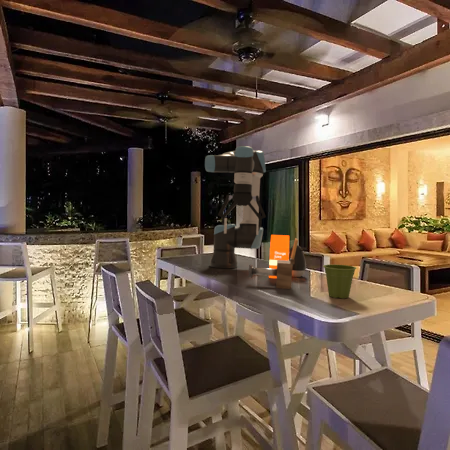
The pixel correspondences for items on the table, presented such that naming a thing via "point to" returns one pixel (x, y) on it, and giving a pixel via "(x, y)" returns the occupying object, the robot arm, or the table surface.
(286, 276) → the hitch block
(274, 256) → the orange juice
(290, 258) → the plate
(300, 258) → the pump dispenser
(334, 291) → the plant pot
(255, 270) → the pin
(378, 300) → the table surface
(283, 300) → the table surface
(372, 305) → the table surface
